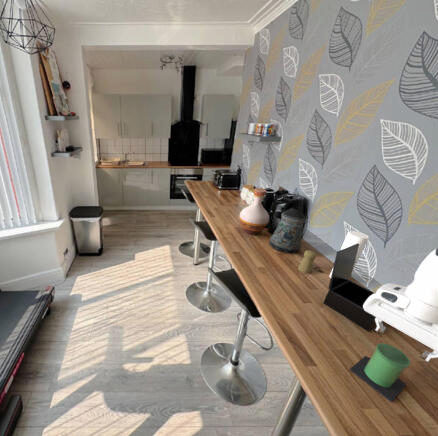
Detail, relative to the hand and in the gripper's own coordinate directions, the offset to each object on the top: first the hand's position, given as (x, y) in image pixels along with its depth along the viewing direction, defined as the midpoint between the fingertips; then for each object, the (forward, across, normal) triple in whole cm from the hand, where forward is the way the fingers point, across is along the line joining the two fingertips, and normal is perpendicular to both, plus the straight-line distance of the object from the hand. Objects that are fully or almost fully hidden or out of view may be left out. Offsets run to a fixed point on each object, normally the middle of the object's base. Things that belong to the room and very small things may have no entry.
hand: (400, 344), depth 65 cm
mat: (+14, 0, 0) cm, 15 cm away
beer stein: (+15, +64, -48) cm, 81 cm away
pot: (+14, 0, 0) cm, 14 cm away
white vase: (+15, +86, -45) cm, 98 cm away
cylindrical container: (+15, +31, -42) cm, 54 cm away
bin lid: (-2, +26, -25) cm, 36 cm away
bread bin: (+15, +17, -25) cm, 33 cm away
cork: (+15, +43, -35) cm, 57 cm away
